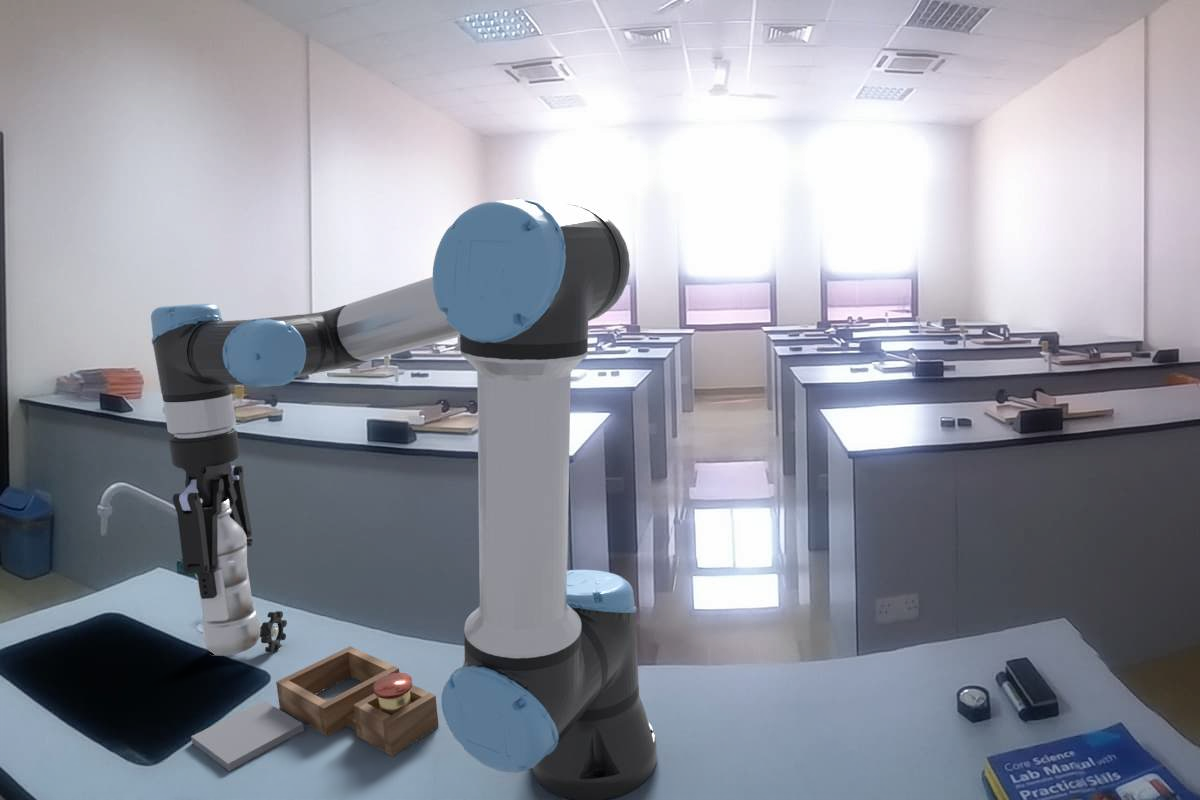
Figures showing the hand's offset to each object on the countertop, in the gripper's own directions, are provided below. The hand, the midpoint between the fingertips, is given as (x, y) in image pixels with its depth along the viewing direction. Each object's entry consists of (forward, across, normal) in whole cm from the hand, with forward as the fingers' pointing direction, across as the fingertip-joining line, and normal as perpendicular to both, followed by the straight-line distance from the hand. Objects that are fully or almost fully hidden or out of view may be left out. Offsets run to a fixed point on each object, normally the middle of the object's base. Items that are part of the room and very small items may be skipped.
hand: (228, 607), depth 98 cm
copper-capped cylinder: (+18, +1, +20) cm, 27 cm away
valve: (+19, -25, -11) cm, 33 cm away
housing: (+18, -4, +14) cm, 23 cm away
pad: (+18, 0, 0) cm, 18 cm away
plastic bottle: (+6, 0, 0) cm, 6 cm away
